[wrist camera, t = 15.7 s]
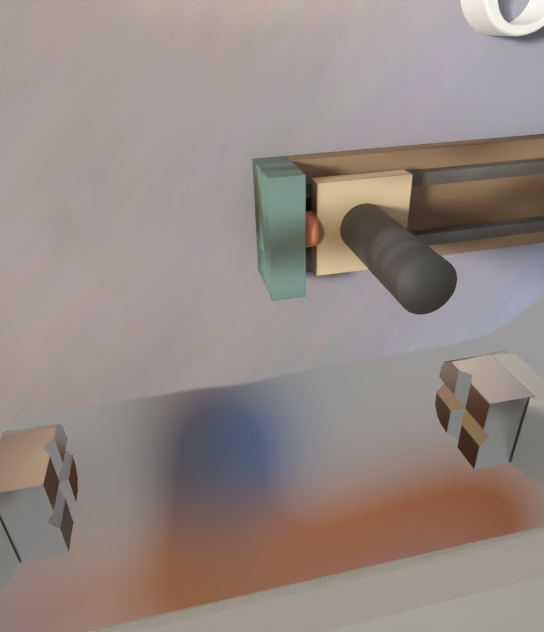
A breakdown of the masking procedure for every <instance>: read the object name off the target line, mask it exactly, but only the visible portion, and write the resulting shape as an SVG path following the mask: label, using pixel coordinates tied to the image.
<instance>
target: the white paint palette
mask: <svg viewBox="0 0 544 632" xmlns="http://www.w3.org/2000/svg"><path fill="white" fill-rule="evenodd" d="M461 6H462V10H463V13H464V16H465V18H466V20H467V21H468V23H469V24H470V25H471V26H472V28H474V29H475V30H476V31H478V32H479V33H481V34H484V35H488V36H524V35H528V34H530V33H533V32H535V31H537V30H538V29H540V28H542V27H543V26H544V0H530V1H529V3H528V5H527V7H526V8H525V10H524V11H523V12H522V13H521V15H520V16H518V17H517V18H516V19H514V20H513V21H511V22H507V21H506V20H505V19H504V18H503V16H502V15H501V13H500V10H499V5H498V0H461Z"/></svg>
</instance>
